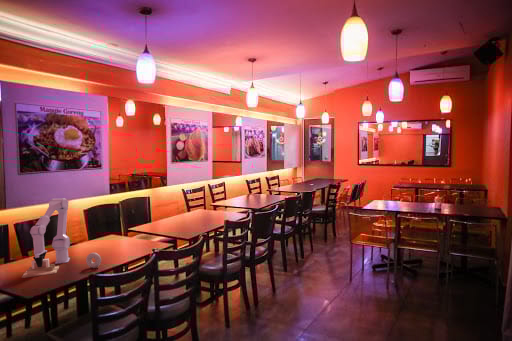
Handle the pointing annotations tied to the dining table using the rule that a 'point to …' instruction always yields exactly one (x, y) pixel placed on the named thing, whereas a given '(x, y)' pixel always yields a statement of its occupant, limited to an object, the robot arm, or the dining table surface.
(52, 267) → the notched stand
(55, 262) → the robot arm
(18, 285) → the dining table surface
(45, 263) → the pale pink flat block
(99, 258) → the donut
